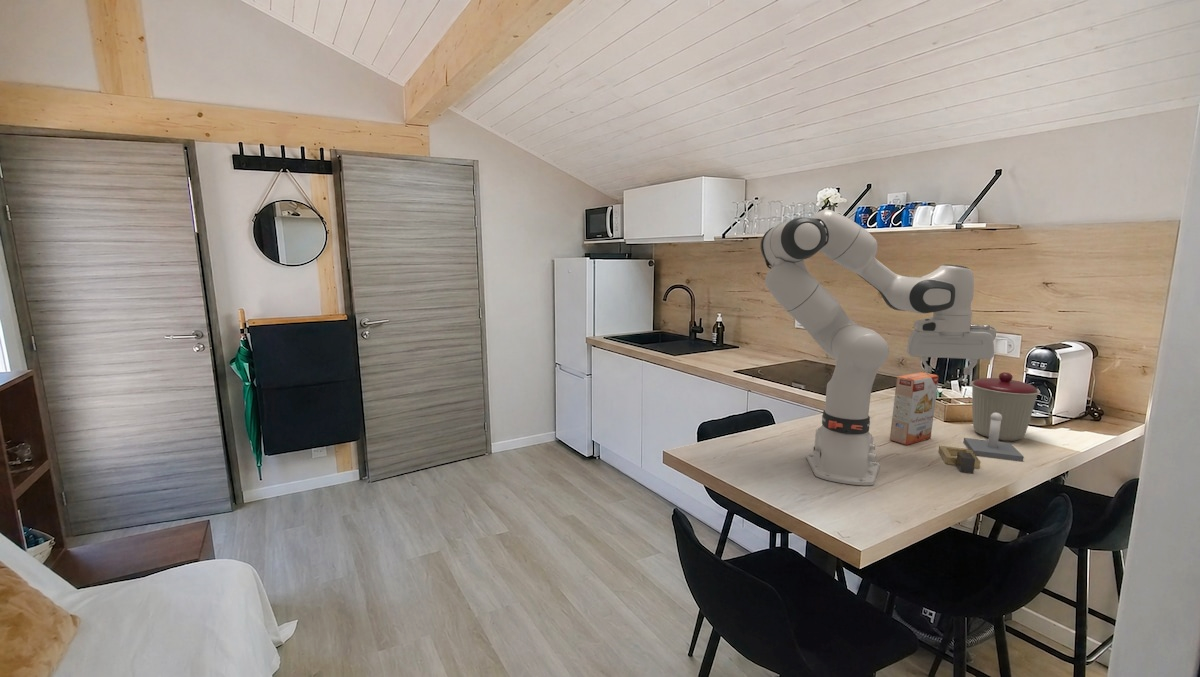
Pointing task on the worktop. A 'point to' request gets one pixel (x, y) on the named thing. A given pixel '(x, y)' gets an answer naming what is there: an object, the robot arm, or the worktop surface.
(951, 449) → the link
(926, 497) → the worktop surface
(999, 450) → the stand
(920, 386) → the cracker box
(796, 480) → the worktop surface
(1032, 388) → the canister
